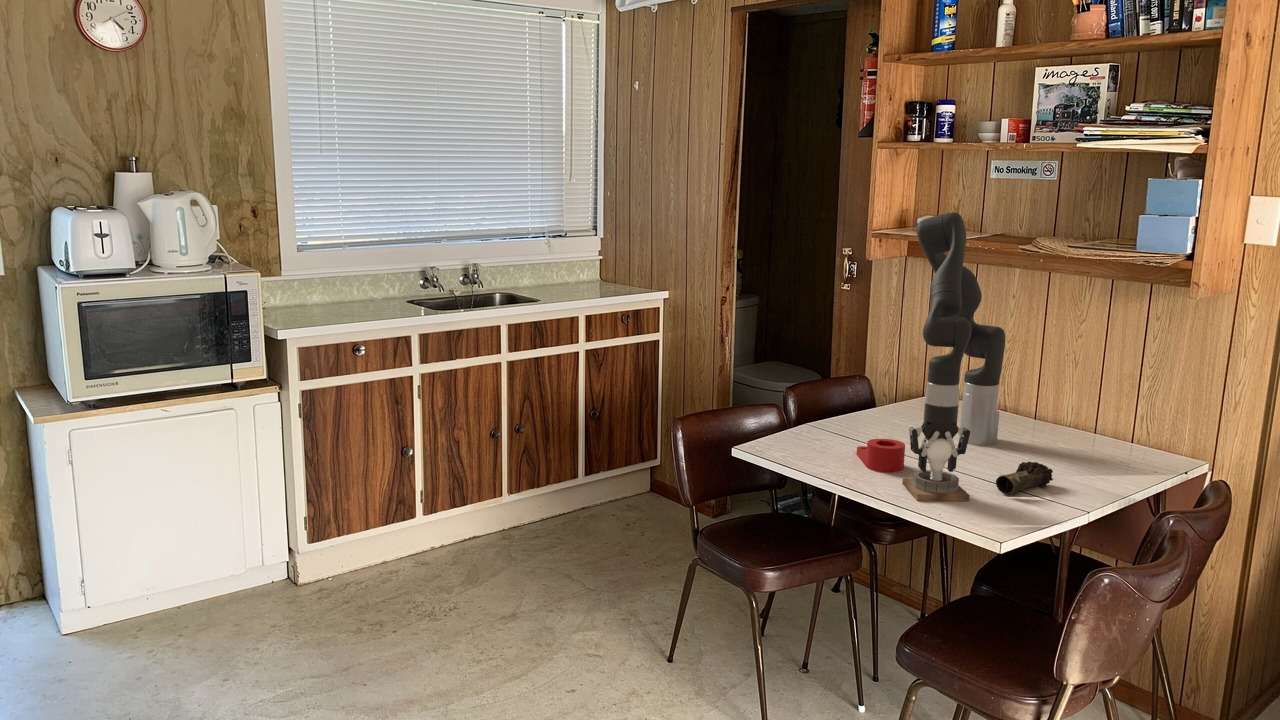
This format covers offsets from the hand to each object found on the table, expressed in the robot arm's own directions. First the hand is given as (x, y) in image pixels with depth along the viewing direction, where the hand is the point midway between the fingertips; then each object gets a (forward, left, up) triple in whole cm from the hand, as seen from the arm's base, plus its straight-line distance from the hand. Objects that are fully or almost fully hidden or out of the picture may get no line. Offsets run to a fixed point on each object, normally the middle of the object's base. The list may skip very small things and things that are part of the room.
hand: (936, 470), depth 228 cm
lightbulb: (0, 0, -3) cm, 3 cm away
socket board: (0, 0, -5) cm, 5 cm away
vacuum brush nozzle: (-18, +1, -8) cm, 20 cm away
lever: (+8, -24, -6) cm, 26 cm away
